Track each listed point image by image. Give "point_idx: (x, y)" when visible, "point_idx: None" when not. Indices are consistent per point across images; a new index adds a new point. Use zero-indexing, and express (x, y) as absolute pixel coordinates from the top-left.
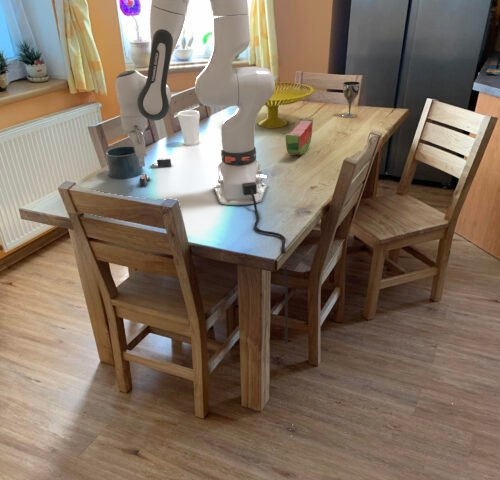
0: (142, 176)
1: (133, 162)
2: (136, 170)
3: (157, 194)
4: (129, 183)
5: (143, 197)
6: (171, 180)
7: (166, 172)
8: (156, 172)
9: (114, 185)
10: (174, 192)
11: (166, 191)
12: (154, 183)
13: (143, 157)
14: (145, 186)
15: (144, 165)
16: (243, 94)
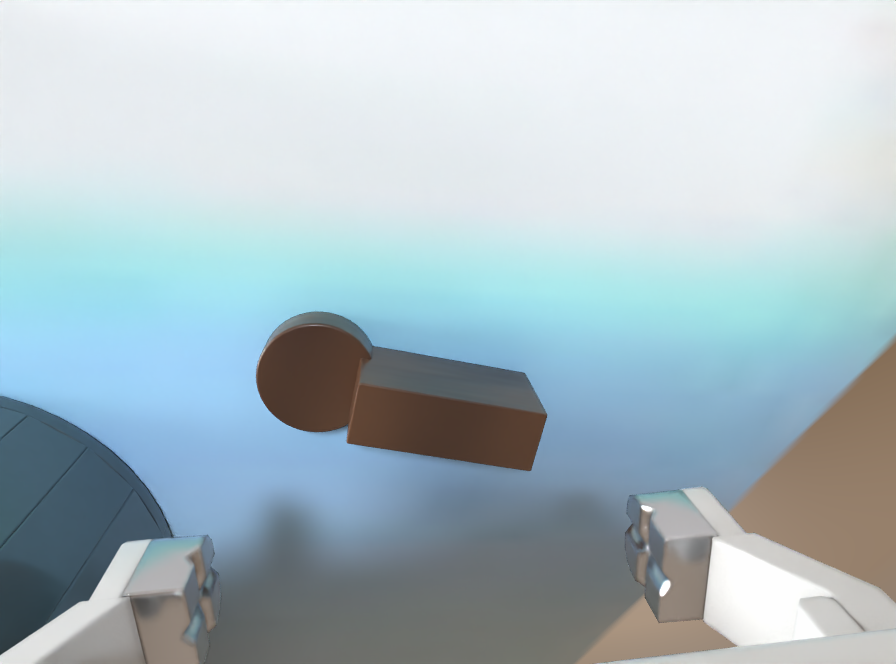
0: (451, 433)
1: (46, 591)
2: (83, 491)
3: (820, 255)
4: (354, 532)
5: (826, 402)
6: (412, 21)
7: (29, 54)
8: (5, 206)
9: (367, 661)
10: (864, 42)
11: (782, 141)
12: (450, 264)
13: (881, 607)
14: (523, 373)
15: (705, 495)
16: None
